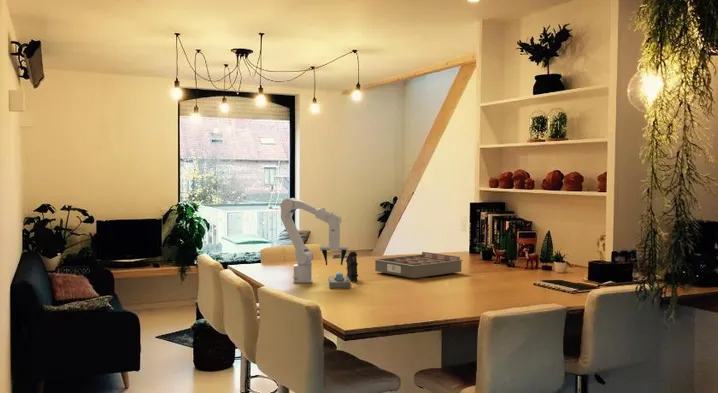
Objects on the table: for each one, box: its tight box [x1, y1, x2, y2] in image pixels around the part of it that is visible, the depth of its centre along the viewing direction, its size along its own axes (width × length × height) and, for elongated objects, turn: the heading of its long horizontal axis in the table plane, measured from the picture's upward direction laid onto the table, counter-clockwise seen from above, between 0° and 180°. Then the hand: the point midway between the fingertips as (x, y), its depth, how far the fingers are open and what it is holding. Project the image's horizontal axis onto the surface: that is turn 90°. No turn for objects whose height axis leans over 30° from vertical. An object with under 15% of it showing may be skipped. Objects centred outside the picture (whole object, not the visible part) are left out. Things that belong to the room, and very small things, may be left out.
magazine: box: [345, 251, 359, 282], centre depth 321 cm, size 4×13×15 cm, turn 14°
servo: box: [335, 271, 344, 281], centre depth 304 cm, size 3×10×6 cm, turn 4°
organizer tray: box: [373, 251, 464, 279], centre depth 345 cm, size 32×40×10 cm
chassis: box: [328, 275, 351, 290], centre depth 304 cm, size 10×18×3 cm, turn 4°
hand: (334, 264), depth 310 cm, fingers open, 7 cm apart
